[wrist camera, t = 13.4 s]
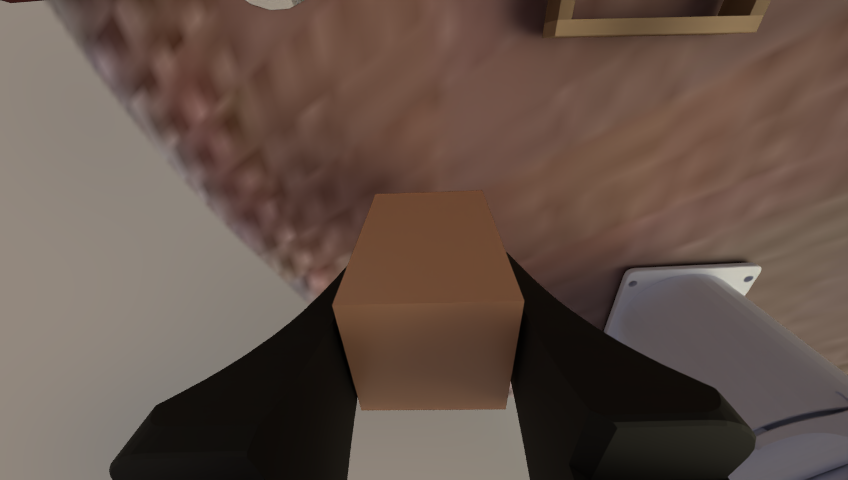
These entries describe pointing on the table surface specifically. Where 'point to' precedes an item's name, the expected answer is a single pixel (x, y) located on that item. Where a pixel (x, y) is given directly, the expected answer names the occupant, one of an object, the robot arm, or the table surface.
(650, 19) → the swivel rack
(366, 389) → the block
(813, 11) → the table surface
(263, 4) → the wineglass
